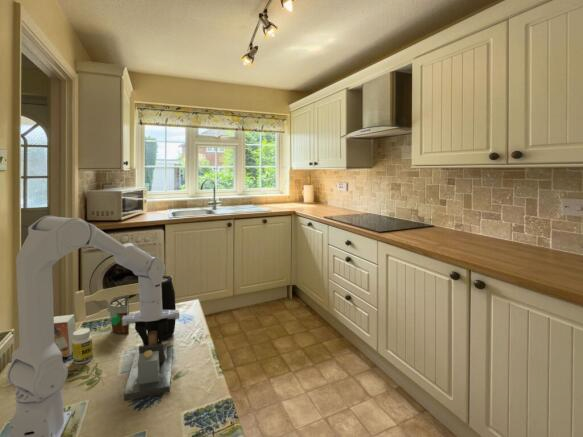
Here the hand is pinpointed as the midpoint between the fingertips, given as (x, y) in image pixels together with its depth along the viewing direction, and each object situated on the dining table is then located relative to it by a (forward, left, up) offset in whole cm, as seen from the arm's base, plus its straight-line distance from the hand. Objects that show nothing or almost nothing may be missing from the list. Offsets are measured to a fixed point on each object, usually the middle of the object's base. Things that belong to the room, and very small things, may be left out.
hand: (153, 345), depth 91 cm
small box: (+12, +27, -5) cm, 30 cm away
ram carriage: (-2, 0, -3) cm, 4 cm away
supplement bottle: (+6, +19, -5) cm, 20 cm away
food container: (+23, +13, -5) cm, 27 cm away
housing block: (-11, 0, -3) cm, 11 cm away
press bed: (-6, 0, -4) cm, 7 cm away
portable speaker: (+14, -1, -5) cm, 15 cm away
